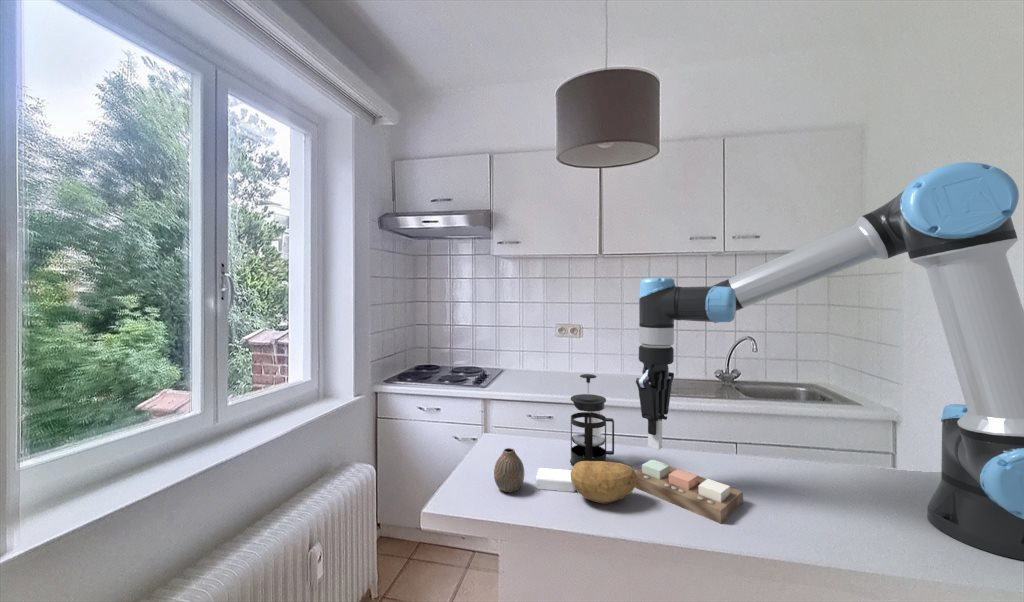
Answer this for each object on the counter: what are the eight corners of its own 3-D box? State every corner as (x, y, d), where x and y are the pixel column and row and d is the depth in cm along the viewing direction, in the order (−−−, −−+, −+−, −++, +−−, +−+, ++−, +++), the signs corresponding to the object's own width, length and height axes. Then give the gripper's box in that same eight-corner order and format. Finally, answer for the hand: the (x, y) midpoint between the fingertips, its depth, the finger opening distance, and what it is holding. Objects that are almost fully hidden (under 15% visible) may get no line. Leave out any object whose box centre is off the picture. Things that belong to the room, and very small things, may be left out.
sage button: (669, 478, 91) (669, 465, 91) (659, 484, 89) (659, 471, 89) (652, 471, 95) (652, 459, 95) (642, 477, 92) (642, 464, 92)
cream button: (729, 500, 82) (729, 486, 82) (720, 508, 79) (720, 493, 79) (707, 492, 85) (707, 478, 85) (698, 499, 82) (698, 485, 82)
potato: (643, 513, 79) (643, 473, 79) (572, 511, 80) (572, 472, 80) (631, 489, 89) (631, 453, 89) (568, 487, 90) (568, 452, 90)
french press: (567, 470, 99) (566, 378, 98) (567, 454, 108) (567, 370, 107) (615, 473, 97) (615, 379, 96) (612, 457, 106) (612, 371, 106)
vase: (529, 492, 88) (529, 453, 88) (499, 498, 85) (499, 458, 85) (518, 479, 94) (517, 442, 94) (490, 484, 92) (489, 446, 92)
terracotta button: (697, 488, 87) (698, 475, 86) (688, 495, 84) (688, 481, 84) (678, 481, 90) (678, 468, 90) (668, 487, 87) (668, 474, 87)
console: (742, 503, 83) (742, 490, 83) (720, 523, 76) (720, 509, 76) (654, 470, 98) (654, 459, 98) (628, 485, 91) (628, 473, 91)
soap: (576, 482, 93) (576, 469, 93) (575, 494, 88) (575, 480, 88) (538, 479, 95) (538, 466, 95) (535, 490, 89) (535, 477, 89)
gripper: (655, 341, 98) (654, 435, 99) (625, 346, 90) (624, 449, 90) (685, 344, 92) (684, 444, 93) (656, 350, 84) (654, 460, 85)
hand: (654, 447), depth 92 cm, fingers closed
